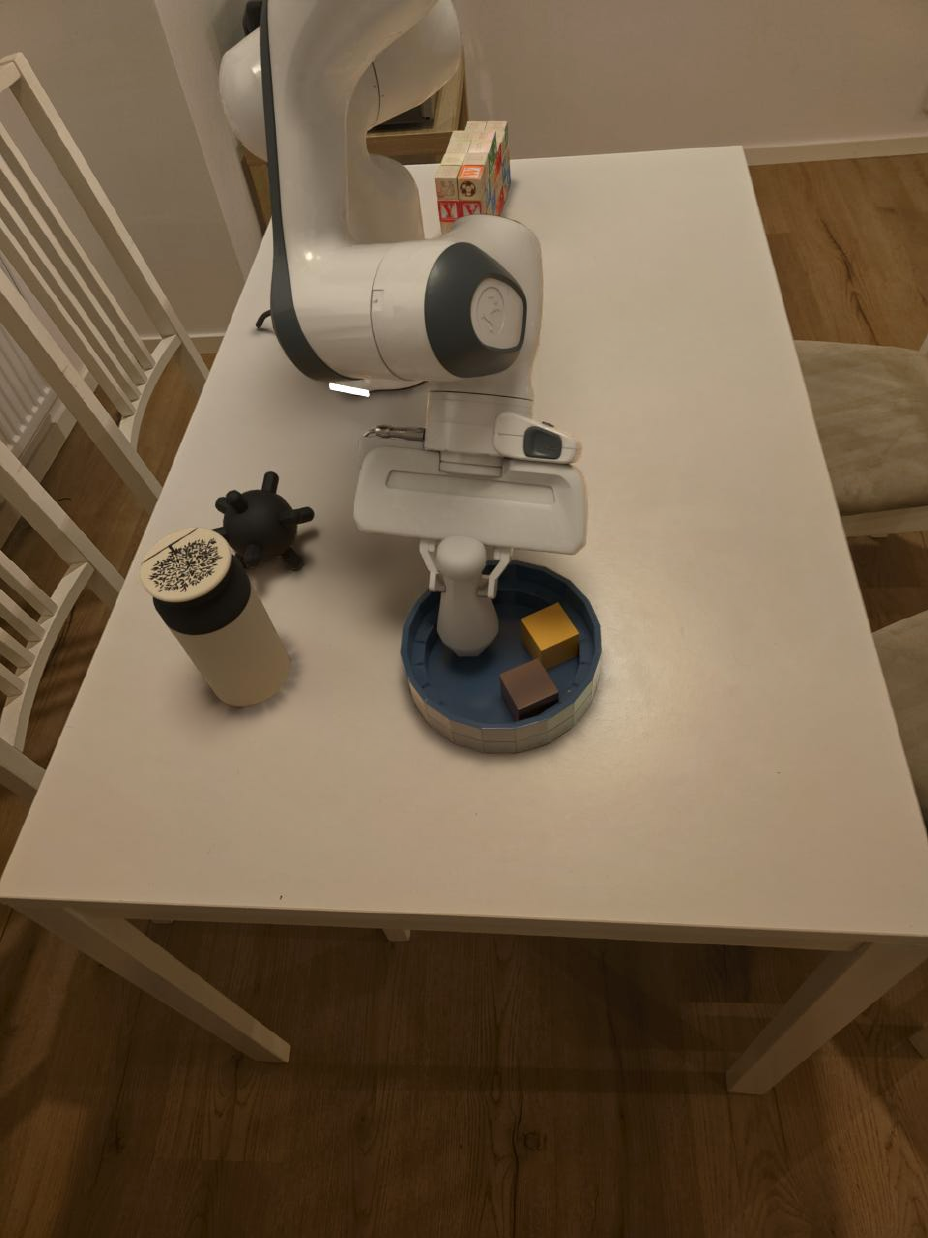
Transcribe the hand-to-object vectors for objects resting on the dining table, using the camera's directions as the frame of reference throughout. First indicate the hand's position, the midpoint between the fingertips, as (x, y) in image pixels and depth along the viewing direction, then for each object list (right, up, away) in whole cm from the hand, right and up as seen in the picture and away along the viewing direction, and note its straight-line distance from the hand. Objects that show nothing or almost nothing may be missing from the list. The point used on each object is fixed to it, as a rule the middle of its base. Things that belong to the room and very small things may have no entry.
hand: (463, 594), depth 71 cm
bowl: (+4, -7, +7) cm, 11 cm away
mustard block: (+8, -5, +7) cm, 12 cm away
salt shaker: (+1, -4, +7) cm, 8 cm away
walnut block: (+6, -10, +4) cm, 13 cm away
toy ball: (-21, +5, +18) cm, 29 cm away
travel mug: (-21, -8, +10) cm, 24 cm away
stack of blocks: (+2, +58, +51) cm, 77 cm away
